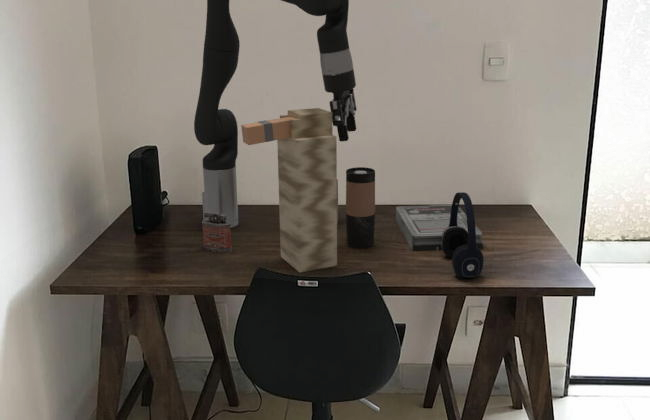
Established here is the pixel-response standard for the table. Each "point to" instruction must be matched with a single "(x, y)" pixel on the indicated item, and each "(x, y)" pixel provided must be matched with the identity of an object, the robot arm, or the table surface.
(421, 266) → the table surface
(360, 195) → the travel mug
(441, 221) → the hard drive
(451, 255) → the headphones
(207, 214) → the lighter
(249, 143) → the bar
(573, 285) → the table surface
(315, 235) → the socket tower
